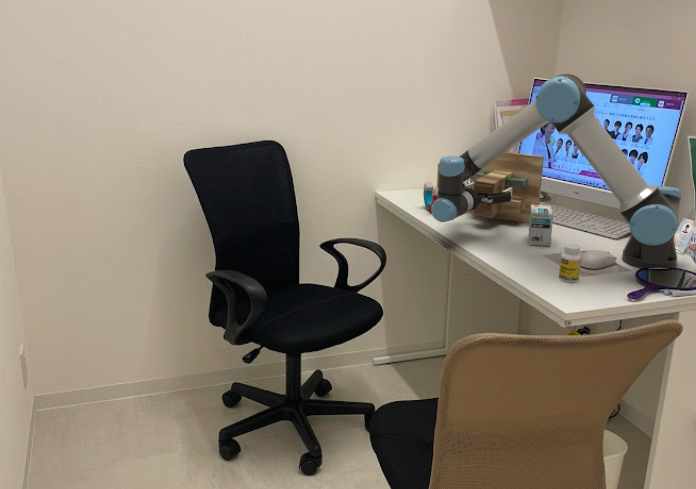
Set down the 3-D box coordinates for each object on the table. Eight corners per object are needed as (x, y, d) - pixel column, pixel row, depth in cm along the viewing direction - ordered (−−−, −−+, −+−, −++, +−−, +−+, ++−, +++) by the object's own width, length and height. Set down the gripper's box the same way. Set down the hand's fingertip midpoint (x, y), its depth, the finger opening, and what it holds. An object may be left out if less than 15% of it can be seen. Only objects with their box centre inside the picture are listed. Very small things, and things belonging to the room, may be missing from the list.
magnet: (422, 207, 266) (423, 181, 262) (429, 206, 266) (430, 181, 263) (434, 215, 255) (435, 189, 252) (441, 215, 256) (443, 188, 253)
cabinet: (491, 218, 236) (493, 184, 232) (472, 214, 240) (473, 181, 236) (511, 205, 248) (512, 172, 244) (492, 202, 252) (494, 170, 247)
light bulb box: (550, 246, 222) (554, 214, 219) (528, 245, 224) (531, 212, 220) (548, 236, 232) (551, 205, 229) (527, 235, 234) (530, 204, 230)
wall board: (528, 229, 239) (534, 160, 232) (460, 216, 254) (463, 151, 246) (540, 221, 248) (547, 154, 240) (474, 209, 263) (478, 146, 255)
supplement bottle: (555, 280, 194) (559, 246, 191) (561, 274, 199) (565, 241, 196) (575, 284, 192) (579, 250, 188) (581, 278, 196) (585, 245, 193)
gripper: (429, 206, 233) (459, 193, 249) (499, 219, 219) (526, 205, 235) (430, 184, 230) (460, 173, 247) (500, 195, 216) (528, 183, 233)
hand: (492, 188), depth 241 cm, fingers open, 13 cm apart
